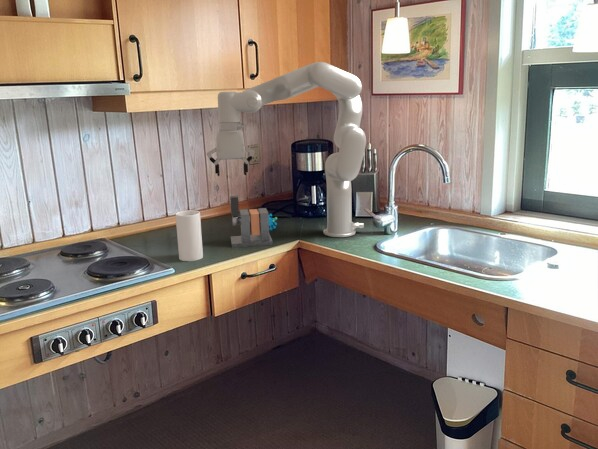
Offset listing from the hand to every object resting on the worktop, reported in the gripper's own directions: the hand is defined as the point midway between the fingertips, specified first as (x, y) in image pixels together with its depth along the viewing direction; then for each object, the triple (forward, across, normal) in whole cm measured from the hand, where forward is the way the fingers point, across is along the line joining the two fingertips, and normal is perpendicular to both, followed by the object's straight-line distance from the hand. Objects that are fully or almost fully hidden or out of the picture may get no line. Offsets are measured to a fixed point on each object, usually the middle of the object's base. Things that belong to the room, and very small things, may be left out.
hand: (231, 174), depth 201 cm
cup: (+26, +16, +13) cm, 33 cm away
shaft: (+19, -5, 0) cm, 20 cm away
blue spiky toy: (+26, -14, -18) cm, 35 cm away
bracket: (+26, -6, 0) cm, 27 cm away
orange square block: (+18, -8, 0) cm, 20 cm away
